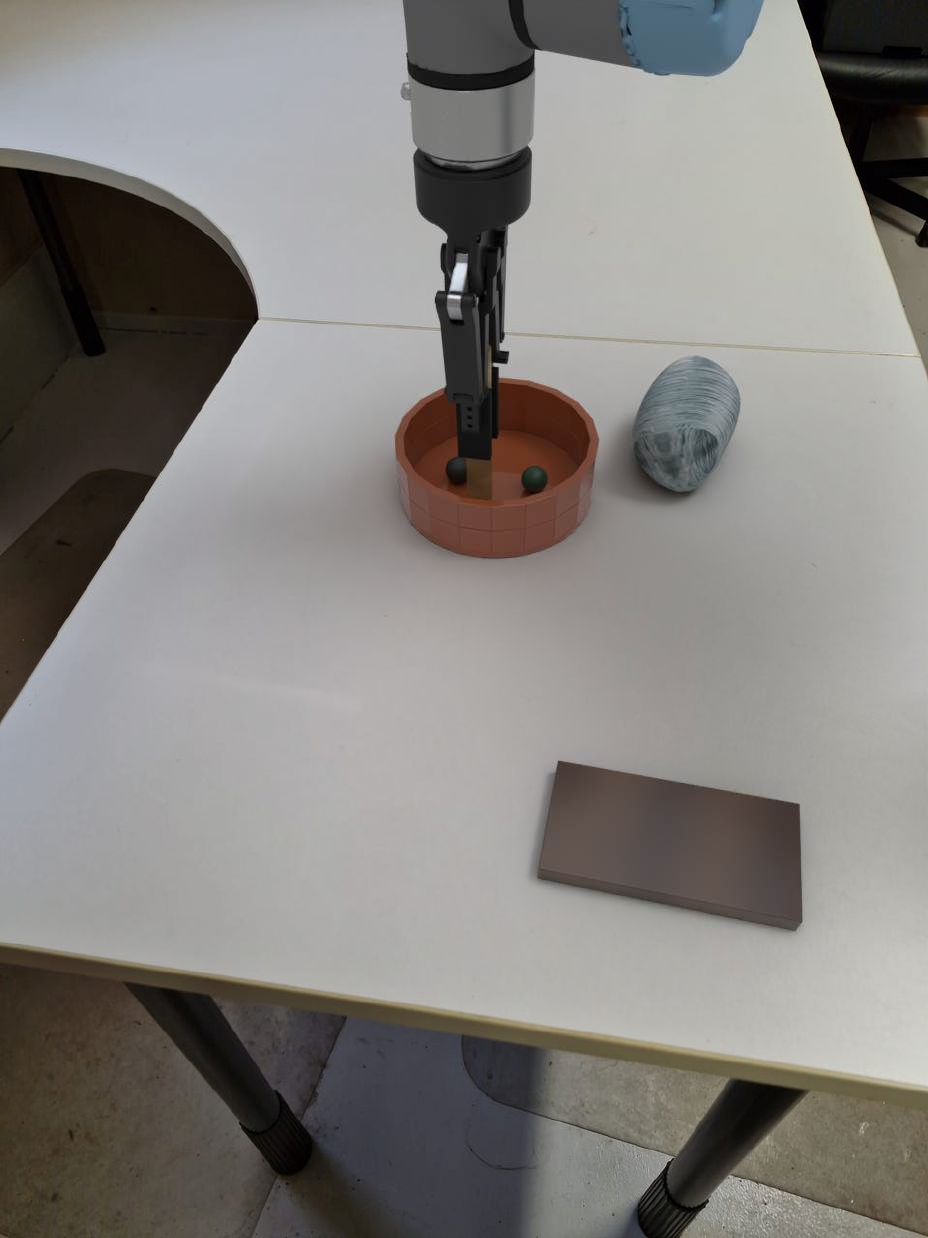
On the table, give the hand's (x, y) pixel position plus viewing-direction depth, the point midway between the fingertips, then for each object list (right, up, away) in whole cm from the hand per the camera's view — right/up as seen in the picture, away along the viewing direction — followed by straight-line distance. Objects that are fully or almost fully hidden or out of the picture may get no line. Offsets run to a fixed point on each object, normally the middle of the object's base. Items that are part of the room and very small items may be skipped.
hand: (478, 444), depth 72 cm
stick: (0, -4, +5) cm, 6 cm away
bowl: (+2, -3, +7) cm, 8 cm away
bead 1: (-2, -1, +7) cm, 7 cm away
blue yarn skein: (+19, +1, +10) cm, 22 cm away
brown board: (+12, -29, -15) cm, 35 cm away
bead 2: (+5, -2, +5) cm, 8 cm away
